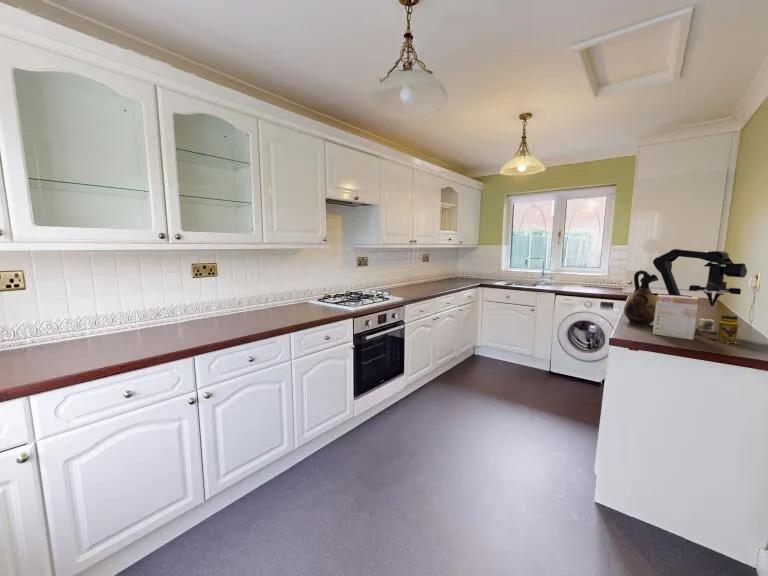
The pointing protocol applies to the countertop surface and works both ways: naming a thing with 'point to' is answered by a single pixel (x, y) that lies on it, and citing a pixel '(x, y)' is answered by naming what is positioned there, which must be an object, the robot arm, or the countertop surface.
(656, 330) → the coffeecake box
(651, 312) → the ceramic jug
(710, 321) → the beech block
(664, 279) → the robot arm
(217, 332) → the countertop surface
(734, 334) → the condiment
